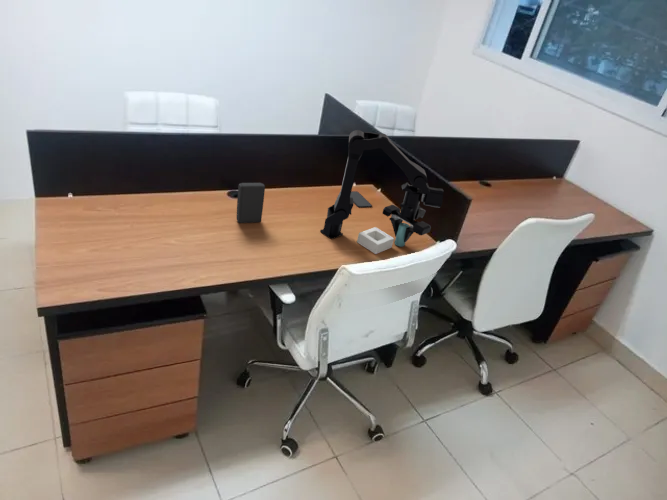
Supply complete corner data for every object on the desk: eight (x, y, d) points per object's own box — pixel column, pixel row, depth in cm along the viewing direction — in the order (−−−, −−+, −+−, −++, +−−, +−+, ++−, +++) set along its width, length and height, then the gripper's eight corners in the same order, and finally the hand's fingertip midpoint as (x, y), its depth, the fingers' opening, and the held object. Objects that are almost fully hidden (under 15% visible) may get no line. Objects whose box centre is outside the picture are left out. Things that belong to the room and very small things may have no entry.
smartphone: (357, 190, 217) (373, 205, 206) (357, 192, 218) (372, 207, 206) (343, 191, 214) (358, 206, 203) (342, 193, 214) (357, 208, 203)
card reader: (259, 217, 181) (263, 181, 173) (262, 223, 178) (266, 186, 170) (235, 218, 177) (238, 181, 170) (237, 224, 174) (240, 186, 167)
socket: (375, 254, 173) (377, 244, 171) (356, 242, 178) (358, 232, 176) (391, 247, 179) (394, 238, 177) (373, 235, 184) (375, 226, 182)
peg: (400, 247, 179) (405, 229, 175) (392, 242, 181) (397, 224, 177) (406, 244, 182) (412, 226, 178) (398, 240, 184) (403, 221, 180)
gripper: (444, 208, 173) (432, 245, 181) (404, 187, 183) (395, 223, 191) (426, 215, 165) (415, 253, 173) (386, 193, 176) (377, 229, 184)
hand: (400, 239), depth 180 cm, fingers closed on peg, 4 cm apart
